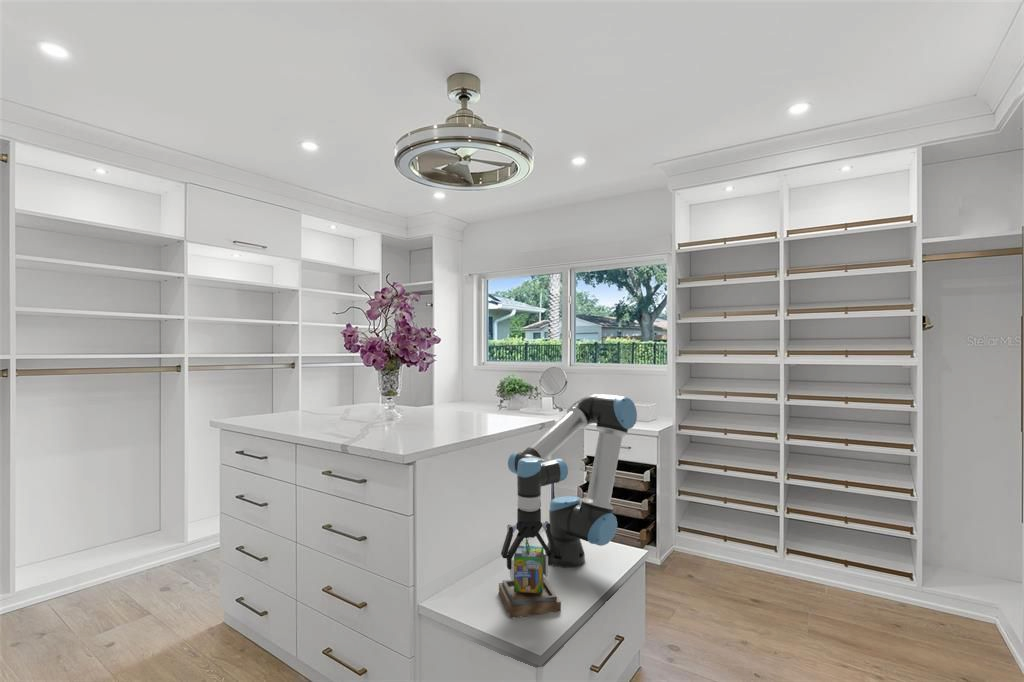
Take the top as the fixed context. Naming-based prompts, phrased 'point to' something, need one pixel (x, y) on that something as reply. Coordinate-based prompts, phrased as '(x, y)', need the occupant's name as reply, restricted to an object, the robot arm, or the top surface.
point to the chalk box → (528, 569)
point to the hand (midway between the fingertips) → (528, 576)
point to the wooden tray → (528, 600)
